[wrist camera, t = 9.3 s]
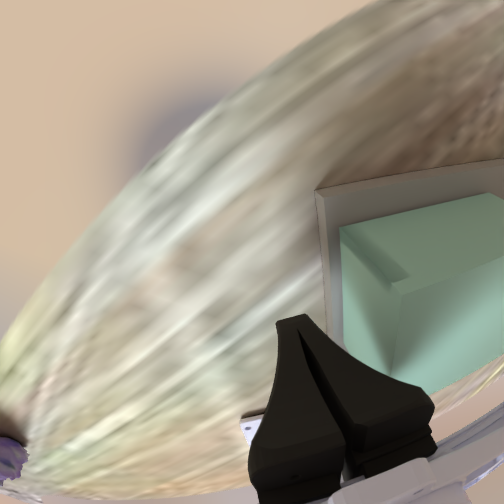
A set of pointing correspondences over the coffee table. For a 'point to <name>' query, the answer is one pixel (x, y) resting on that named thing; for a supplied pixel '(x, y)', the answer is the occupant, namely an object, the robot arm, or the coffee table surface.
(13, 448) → the flower
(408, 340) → the block
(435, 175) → the base
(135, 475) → the coffee table surface
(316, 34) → the coffee table surface
